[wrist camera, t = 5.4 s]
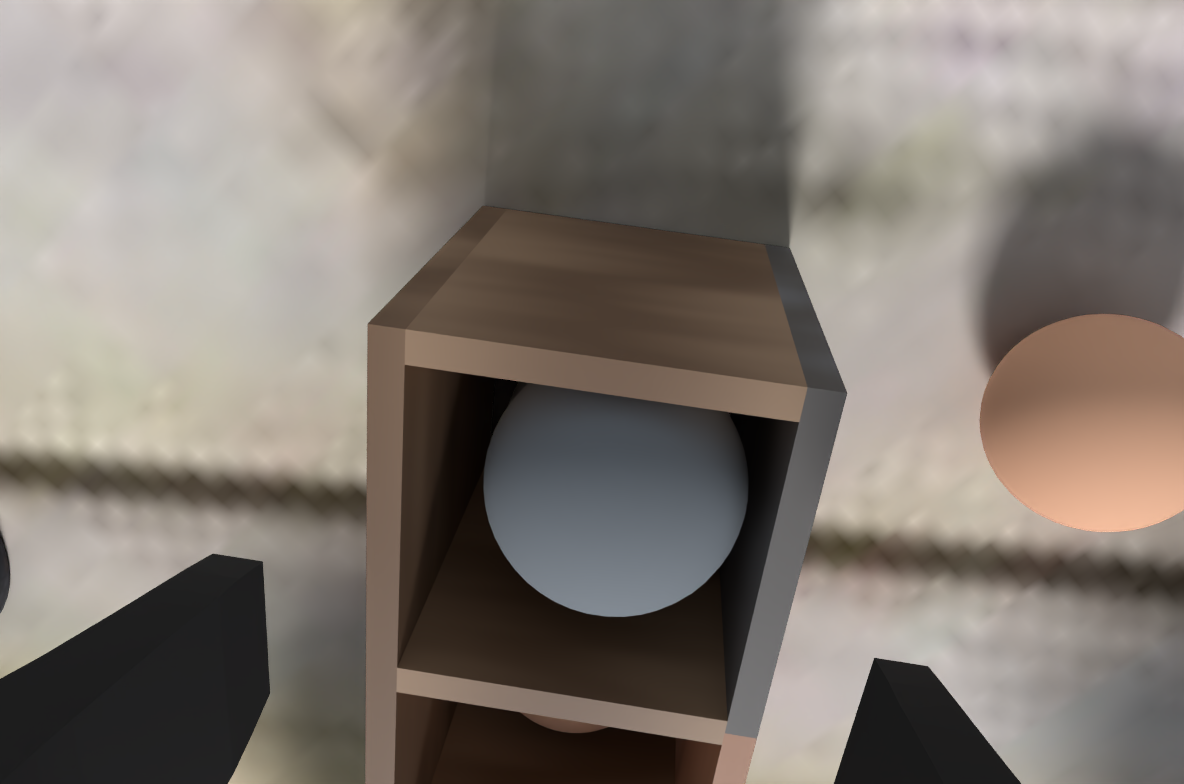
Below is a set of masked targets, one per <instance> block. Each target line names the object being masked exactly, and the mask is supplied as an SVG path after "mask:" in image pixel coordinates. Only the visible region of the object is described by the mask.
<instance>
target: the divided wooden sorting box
mask: <svg viewBox="0 0 1184 784" xmlns="http://www.w3.org/2000/svg"><path fill="white" fill-rule="evenodd" d="M495 378H499V379H506V380H513V381H520V382H527V383H533V384H540V385H547V386H554V387H561V388H568V389H574V390H581V391H588V392H595V393H602V394H609V395H615V396H622V397H629V398H636V399H643V400H650V401H656V402H663V403H670V404H677V405H684V406H691V407H698V408H704V409H711V410H718V411H725V412H731V414H730V417H731V419H732V421H733V423H734V425H735V427H736V429H737V431H738V433H739V436H740V439H741V441H742V444H743V447H744V451H745V456H746V460H747V467H748V478H749V479H748V502H747V507H746V513H745V517H744V520H743V523H742V526H741V529H740V532H739V535H738V537H737V539H736V541H735V543H734V545H733V547H732V549H731V552H730V553H729V555H728V556H727V557H726V559H725V560H724V562H723V563H722V565H721V566H720V567H719V568H718V569H717V570H716V572H715V573H714V574H713V575H712V576H711V577H710V578H709V579H708V580H707V581H706V582H705V583H704V584H703V585H702V586H700V587H699V588H698V589H697V590H696V591H694V592H693V593H692V594H690V595H688V596H687V597H685V598H683V599H682V600H680V601H678V602H676V603H674V604H672V605H669V606H667V607H665V608H662V609H660V610H657V611H654V612H650V613H646V614H642V615H635V616H626V617H608V616H599V615H593V614H586V613H583V612H580V611H576V610H573V609H570V608H568V607H565V606H563V605H561V604H559V603H556V602H554V601H553V600H551V599H549V598H548V597H546V596H544V595H543V594H541V593H540V592H538V591H537V590H536V589H535V588H533V587H532V586H531V585H530V584H528V583H527V582H526V581H525V580H524V579H523V578H522V577H521V576H520V574H519V573H518V572H517V571H516V570H515V569H514V568H513V566H512V565H511V564H510V562H509V561H508V560H507V558H506V557H505V555H504V554H503V552H502V550H501V548H500V546H499V544H498V543H497V541H496V539H495V537H494V534H493V531H492V529H491V526H490V524H489V520H488V516H487V512H486V507H485V499H484V466H485V460H486V455H487V450H488V447H489V444H490V441H491V427H492V414H493V400H494V386H495ZM846 396H847V391H846V389H845V386H844V384H843V381H842V379H841V376H840V374H839V371H838V369H837V366H836V364H835V361H834V359H833V356H832V354H831V351H830V348H829V346H828V343H827V341H826V338H825V336H824V333H823V331H822V328H821V326H820V323H819V321H818V318H817V316H816V313H815V311H814V308H813V306H812V303H811V300H810V298H809V295H808V293H807V290H806V288H805V285H804V283H803V280H802V278H801V275H800V273H799V270H798V268H797V265H796V263H795V260H794V257H793V255H792V252H791V250H790V248H787V247H779V246H772V245H765V244H758V243H750V242H743V241H736V240H728V239H721V238H714V237H707V236H699V235H692V234H685V233H678V232H670V231H663V230H656V229H648V228H641V227H634V226H627V225H619V224H612V223H605V222H598V221H590V220H583V219H576V218H568V217H561V216H554V215H547V214H539V213H532V212H525V211H518V210H510V209H503V208H496V207H488V206H482V207H481V208H480V209H479V210H478V211H477V212H476V213H475V215H474V216H473V217H472V218H471V219H470V220H469V221H468V222H467V223H466V224H465V225H464V226H463V227H462V228H461V229H460V230H459V231H458V232H457V233H456V234H455V235H454V236H453V237H452V238H451V239H450V240H449V241H448V242H447V243H446V244H445V245H444V246H443V247H442V248H441V249H440V250H439V251H438V252H437V253H436V254H435V255H434V256H433V258H432V259H431V260H430V261H429V262H428V263H427V264H426V265H425V266H424V267H423V268H422V269H421V270H420V271H419V272H418V273H417V274H416V275H415V276H414V277H413V278H412V279H411V280H410V281H409V282H408V283H407V284H406V285H405V286H404V287H403V288H402V289H401V290H400V291H399V292H398V293H397V294H396V295H395V296H394V297H393V298H392V299H391V301H390V302H389V303H388V304H387V305H386V306H385V307H384V308H383V309H382V310H381V311H380V312H379V313H378V314H377V315H376V316H375V317H374V318H373V319H372V320H371V321H370V322H369V323H368V359H367V546H366V732H365V784H745V782H746V778H747V774H748V770H749V766H750V763H751V759H752V755H753V751H754V747H755V744H756V740H757V736H758V732H759V728H760V724H761V721H762V717H763V713H764V709H765V705H766V701H767V698H768V694H769V690H770V686H771V682H772V679H773V675H774V671H775V667H776V663H777V659H778V656H779V652H780V648H781V644H782V640H783V636H784V633H785V629H786V625H787V621H788V617H789V614H790V610H791V606H792V602H793V598H794V594H795V591H796V587H797V583H798V579H799V575H800V571H801V568H802V564H803V560H804V556H805V552H806V549H807V545H808V541H809V537H810V533H811V529H812V526H813V522H814V518H815V514H816V510H817V507H818V503H819V499H820V495H821V491H822V487H823V484H824V480H825V476H826V472H827V468H828V464H829V461H830V457H831V453H832V449H833V445H834V442H835V438H836V434H837V430H838V426H839V422H840V419H841V415H842V411H843V407H844V403H845V399H846ZM520 712H522V713H528V714H534V715H540V716H547V717H553V718H559V719H565V720H571V721H577V722H583V723H589V724H596V725H602V726H608V727H607V728H604V729H601V730H597V731H593V732H586V733H567V732H560V731H556V730H552V729H549V728H546V727H544V726H541V725H539V724H537V723H535V722H533V721H532V720H530V719H529V718H527V717H526V716H524V715H523V714H522V713H520Z"/></svg>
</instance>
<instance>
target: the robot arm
mask: <svg viewBox="0 0 1184 784" xmlns="http://www.w3.org/2000/svg"><path fill="white" fill-rule="evenodd" d="M269 694H270V684H269V666H268V648H267V630H266V612H265V594H264V576H263V562H262V561H256V560H250V559H243V558H237V557H231V556H224V555H218V554H212V555H210V556H208V557H206V558H204V559H203V560H201V561H199V562H197V563H196V564H194V565H192V566H190V567H189V568H187V569H185V570H184V571H182V572H180V573H179V574H177V575H175V576H174V577H172V578H170V579H169V580H167V581H165V582H164V583H162V584H161V585H159V586H157V587H156V588H154V589H152V590H151V591H149V592H148V593H146V594H144V595H143V596H141V597H139V598H138V599H136V600H134V601H133V602H131V603H130V604H128V605H126V606H125V607H123V608H121V609H120V610H118V611H117V612H115V613H113V614H112V615H110V616H108V617H106V618H105V619H103V620H101V621H100V622H98V623H96V624H95V625H93V626H91V627H90V628H88V629H86V630H85V631H83V632H81V633H80V634H78V635H76V636H75V637H73V638H71V639H70V640H68V641H66V642H65V643H63V644H61V645H60V646H58V647H56V648H55V649H53V650H51V651H50V652H48V653H46V654H44V655H43V656H41V657H39V658H38V659H36V660H34V661H32V662H30V663H28V664H27V665H25V666H23V667H21V668H19V669H17V670H16V671H14V672H12V673H10V674H8V675H7V676H5V677H3V678H1V679H0V784H228V782H229V780H230V779H231V777H232V775H233V773H234V771H235V769H236V767H237V765H238V763H239V761H240V759H241V756H242V754H243V752H244V750H245V748H246V746H247V744H248V742H249V740H250V737H251V735H252V733H253V731H254V728H255V726H256V724H257V722H258V719H259V717H260V715H261V712H262V710H263V708H264V706H265V703H266V701H267V699H268V697H269ZM834 784H1021V783H1020V781H1019V780H1018V779H1017V778H1016V777H1015V775H1014V774H1013V773H1012V772H1011V770H1010V769H1009V768H1008V767H1007V765H1006V764H1005V763H1004V762H1003V760H1002V759H1001V758H1000V757H999V755H998V754H997V753H996V751H995V750H994V749H993V748H992V746H991V745H990V744H989V743H988V741H987V740H986V739H985V738H984V736H983V735H982V734H981V733H980V731H979V730H978V729H977V727H976V726H975V725H974V724H973V722H972V721H971V720H970V718H969V717H968V716H967V715H966V713H965V712H964V711H963V710H962V708H961V707H960V706H959V704H958V703H957V702H956V701H955V699H954V698H953V697H952V695H951V694H950V693H949V692H948V690H947V689H946V688H945V687H944V685H943V684H942V683H941V682H940V680H939V679H938V678H937V677H936V675H935V674H934V673H933V672H932V671H931V669H930V668H929V667H928V666H922V665H916V664H910V663H903V662H897V661H891V660H884V659H878V658H874V661H873V664H872V667H871V670H870V673H869V676H868V679H867V682H866V685H865V689H864V692H863V695H862V698H861V701H860V704H859V707H858V710H857V713H856V717H855V720H854V723H853V726H852V729H851V732H850V735H849V738H848V741H847V744H846V748H845V751H844V754H843V757H842V760H841V763H840V766H839V769H838V772H837V776H836V779H835V782H834Z"/></svg>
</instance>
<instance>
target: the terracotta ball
mask: <svg viewBox="0 0 1184 784" xmlns="http://www.w3.org/2000/svg"><path fill="white" fill-rule="evenodd" d="M980 432H981V438H982V442H983V447H984V451H985V453H986V456H987V458H988V461H989V463H990V465H991V467H992V469H993V470H994V472H995V474H996V476H997V477H998V478H999V480H1000V481H1001V482H1002V483H1003V485H1004V486H1005V487H1006V488H1007V489H1008V491H1009V492H1010V493H1011V494H1012V495H1013V496H1014V497H1016V498H1017V499H1018V500H1019V501H1020V502H1021V503H1023V504H1024V505H1025V506H1027V507H1028V508H1030V509H1031V510H1033V511H1034V512H1036V513H1037V514H1039V515H1041V516H1043V517H1046V518H1048V519H1050V520H1052V521H1054V522H1056V523H1059V524H1062V525H1065V526H1068V527H1072V528H1077V529H1082V530H1086V531H1096V532H1121V531H1130V530H1136V529H1140V528H1145V527H1148V526H1151V525H1154V524H1157V523H1160V522H1162V521H1164V520H1167V519H1169V518H1171V517H1173V516H1174V515H1176V514H1178V513H1180V512H1181V511H1183V510H1184V338H1183V337H1181V336H1180V335H1178V334H1176V333H1174V332H1173V331H1171V330H1169V329H1167V328H1165V327H1163V326H1161V325H1159V324H1156V323H1153V322H1150V321H1147V320H1144V319H1140V318H1136V317H1131V316H1126V315H1116V314H1088V315H1082V316H1076V317H1072V318H1068V319H1064V320H1061V321H1058V322H1055V323H1053V324H1050V325H1047V326H1045V327H1043V328H1041V329H1039V330H1037V331H1035V332H1033V333H1032V334H1030V335H1029V336H1027V337H1026V338H1024V339H1023V340H1022V341H1020V342H1019V343H1018V344H1017V345H1016V346H1014V347H1013V348H1012V349H1011V350H1010V351H1009V352H1008V353H1007V354H1006V355H1005V357H1004V358H1003V359H1002V360H1001V362H1000V363H999V364H998V366H997V367H996V369H995V371H994V372H993V374H992V376H991V377H990V379H989V381H988V384H987V386H986V389H985V391H984V395H983V399H982V403H981V412H980Z"/></svg>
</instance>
